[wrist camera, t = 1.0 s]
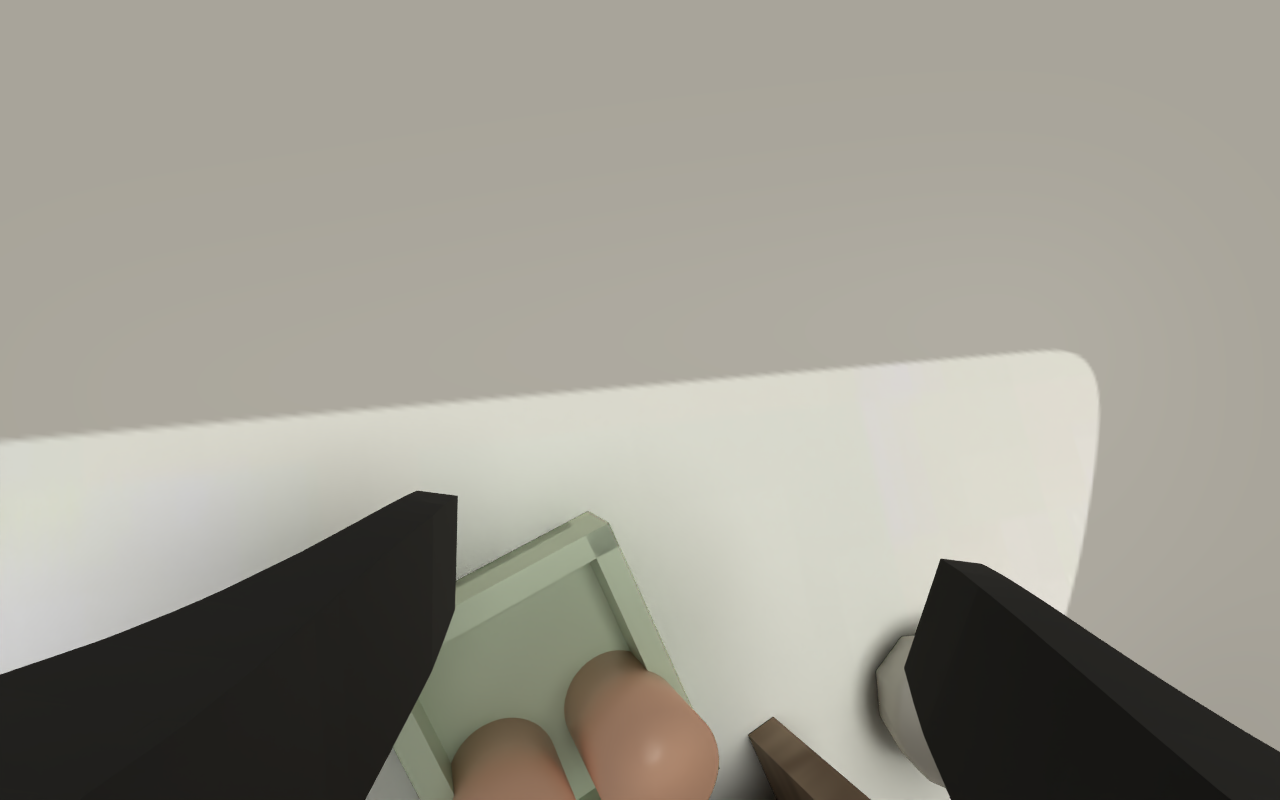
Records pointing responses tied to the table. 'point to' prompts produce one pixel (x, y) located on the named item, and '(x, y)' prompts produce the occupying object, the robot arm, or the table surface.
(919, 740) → the salt shaker
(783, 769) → the shelf
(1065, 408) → the table surface
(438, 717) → the tray
